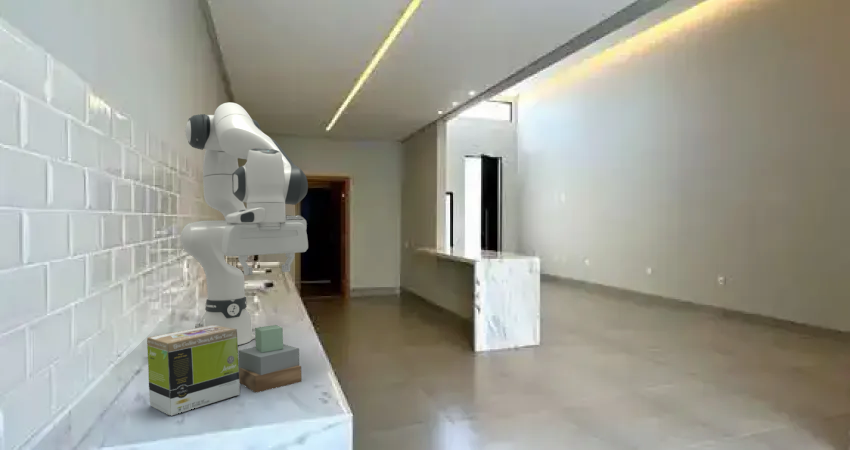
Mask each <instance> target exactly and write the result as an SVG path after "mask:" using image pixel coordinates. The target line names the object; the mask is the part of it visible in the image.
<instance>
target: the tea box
mask: <svg viewBox="0 0 850 450" xmlns="http://www.w3.org/2000/svg"><path fill="white" fill-rule="evenodd" d="M146 343H147V345H146V347H147V362H148V364H147V365H148V367H147V368H148V369H147V370H148V395H149V404H150V406H151V407H152V408H154V409H155V410H157V411H160V412H161V413H163V412H164V414H165V413H166V415H168V416H170V415H171V417H172V416H175V415H178V413H179V414H181V412H182V413H185V412H188V411H191V409H192V410H194V408H195V409H198V408H201V407H204V406H207V405H210V404H214V403H216V402H220V401H224V400H227V399H229V398H232V397H236V396H239V395H241V387H240V386H241V383H240V381H239V353H238V350H239V347H238V346H239V345H238V341H237V329H233V328H227V327H222V326H217V325H209V326H205V327H200V328H195V327H193V328H191V329H184V330H179V331H174V332H173V331H172V332H169V333H165V334H164V333H163V334H160V335H153V336H149V337H147V338H146Z"/></svg>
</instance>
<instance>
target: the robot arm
mask: <svg viewBox="0 0 850 450" xmlns="http://www.w3.org/2000/svg"><path fill="white" fill-rule="evenodd" d="M184 132H185V136H186V137H185V138H186V139H187V141H188V144H189V145H190V146H191V147H192V148H194V149H198V150H201V151H202V150H205V151H204V155H203V163H202V181H203V182H202V183H203V185H202V187H203V198H204V202H205V203H206V205H207V206H208V207H210V208H211V209H214V210H216V211H218V212H220V213H221V214H222V215H223V217H224V220H222V219H221V220H219V219H218V220H217V219H216V220H214V219H213V220H199V221H194V222H189V223H186V225H185V226H184V227H183V228H182V230H181V232H180V237H179V239H180V240H179V241H180V244H181V247H182V249H183V251H185V252H186V253H187V254H188V255H190V256H192V257H193V258H194V259H196V261H197V262H198V263H199V264H200V265H201V268H202V269H203V271H204V274H205V278H206V279H205V280H206V288H207V289H206V290H207V298H206V300H205V302H206V303H205V312H204V314H203V316H202V318H201V319H200V321H199V323H195V326H194V328H200V327H205V326H209V325H217V326H222V327H227V328H233V329H237V341H238V346H240V345H244V344H247V343H249V342H251V341H252V340H255V333H253V324H252V314H251V313H250V312H249V311H248V310H247V309H246V308H247V307H248V306H247V305H248V304H247V303H248V301H247V297H246V294H245V293H246V291H245V287H246V285H245V284H246V283H245V276H252V275H253V274H254V272H253V267H252V266H249V264H248V262H247V261H248V260H249V259H248V258H249V257H248V256H258V255H259V256H261V255H275V254H277V255H279V254H285V258H287V259H286V260H285V263H284V264H281V272H282V273H289V272H291V265H292V263H293V261H294V260H295V254H296V253H305V252H307V250H308V249H309V240H308V234H307V227H308V226H307V225H308V223H307V220H306V219H305V218H304V217H303V216H302V215H297V214H296V215H289V214H287V215H286V213H287V212H286V205H291V206H292V205H294V206H295V205H297V204H299V203H300V202H301V201H303V199H304V198H305V197H306V195H307V194H308V190H309V183H308V178H307V176H306V174H305V172H304V171H303V169H301V168H300V167H299V166H297V165H296V164H294V162H293V161H292V160H291V158H290V157H289V156H288V154H287V153H286V151H285V150H284V149H283V148H282V147H281V146H280V144H279V143H278V142H277V141H276V140H275V139H273V138H272V137H270V136H269V135H267V134H266V133H264V132H263V131H262V130H261V126H260V123H259V122H258V121H257V120H256V119H252V117H251V116H250V114H249V113H248V112H247V110H246V109H245V108H244V107H243V106H242V105H240V104H238V103H236V102H229V101H228V102H224V103H221V104H220V105H219V106H218V107H217V108H216V109H215V110H214V114H204V113H202V114H201V113H200V114H195V115H192V116H191V117H189V118H188V120H187V123H186V125H185V130H184ZM238 159H242V160H246V162H245V164H244V165H241V166H239V160H238ZM244 203H245V204H246V206H245V204H244ZM225 257H238V262H239V264H240V265H241V267H242V268H243V270H242V269H240V268H238V267H237V266H235V265H232V264H229V263H227V261H226V258H225Z"/></svg>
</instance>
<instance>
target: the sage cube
mask: <svg viewBox="0 0 850 450" xmlns="http://www.w3.org/2000/svg"><path fill="white" fill-rule="evenodd" d="M254 332H255V333H254V334H255V339H254V340H255V347H256V349H257V350H259V351H260V352H262V353H263V352H269V351H274V350H280V349H283V344H284V334H283V327H282V326H281V325H277V324H273V325H265V326H258V327H255V328H254Z"/></svg>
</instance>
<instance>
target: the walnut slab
mask: <svg viewBox="0 0 850 450" xmlns="http://www.w3.org/2000/svg"><path fill="white" fill-rule="evenodd" d="M239 381H240V385H242V386H244V387H245V386H246V387H245V388H247V389H249V390H250V389H251V391H252V390H253V391H252V392H253V393H255V392H257V393H260V391H261V392H265V391H268V390H273V389H277V388H280V387H281V386H282V387H285V386H289V385H294V384H298V383H301V382H302V365H300V364H299V365H298V366H294V367H291V368H287V369H283V370H279V371H275V372H271V373H267V374H264V375H259V374H256V373H253V372H251V371H248V370H245V369H242V368H239ZM276 387H277V388H276ZM282 387H281V388H282ZM272 388H273V389H272Z"/></svg>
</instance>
